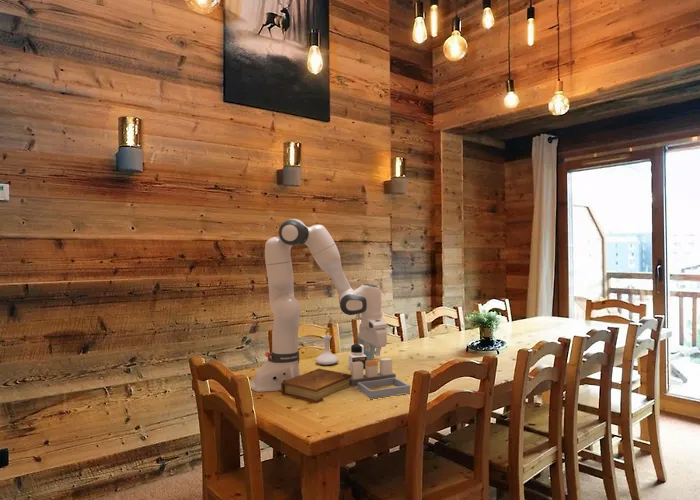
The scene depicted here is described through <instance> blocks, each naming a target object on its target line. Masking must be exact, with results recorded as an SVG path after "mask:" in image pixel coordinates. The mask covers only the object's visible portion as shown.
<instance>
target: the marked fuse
mask: <svg viewBox="0 0 700 500" xmlns="http://www.w3.org/2000/svg"><path fill="white" fill-rule="evenodd" d="M378 366H379V363H378V360H377V359H373V360H366V361H365V369H364V372H365V374H364V375H365V376H366V377H375V376H378V373H379V370H378V369H379V367H378Z"/></svg>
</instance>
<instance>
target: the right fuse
mask: <svg viewBox="0 0 700 500" xmlns="http://www.w3.org/2000/svg"><path fill="white" fill-rule="evenodd" d="M379 373H380V374H381V375H390V374H392V373H393V359H392V358H390V357H385V358H379Z"/></svg>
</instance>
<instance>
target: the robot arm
mask: <svg viewBox="0 0 700 500" xmlns="http://www.w3.org/2000/svg"><path fill="white" fill-rule="evenodd" d="M297 245H305V246H306V247H307V248H308V250H309V251H310V253H311V256H312V257H313V260H315V262H316V264H317V265H318V267H319V268H320V269H321V270H322V271H323V272H325V273H326V274H327V275H328V276H329V278H330V279H331V281H332V283H333V285H334V286H335V289H336V291H337V294H338V303H339V308H340V310H341V312H343V313H344V314H345V315H347V316H354V315H358V314H359V315H360V314H361V315H360V317H361V321H360V323H359V327H358V328H359V329H358V333H359V337H360V339H362V340H364V345H365V350H366V351H370V346H369V343H371V344H373V345H375V346H376V348H375V354H374V356H376V357H380V356H381V351H382V348H384V347H386V346H387V343H388V334H387V333H388V332H387V328H388V323H387V322H386V321H385V319H384V318H383V316H382V315H383V313H382V311H381V309H382V294H381V289H380V288H379V286H377V285H376V284H372V283H363V284H362V285H360V286H359V287H357V288H356V289H354V288H353V287H352V285H351V284H350V282H349V280H348V278H347V276H346V274H345V272H344V269H343V266H342V265H343V264H342V261H341V260H342V258H341V255H340V252H339V248H338V247H337V244H336V243H335V240H334V239H333V237H332V235H331V234H330V232H329V231H328V229H327V228H326V227H325V226H324V225H323V224H313V225H311V226H307V224H306V223H305V222H304V221H303V220H301V219H297V218H290V219H287V220H285V221H283V222H282V223H281V224H280V225H279V228H278V236H274V237H270V238H269V239H267V240H266V241H265V245H264V258H265V259H264V260H265V269H266V275H267V284H268V285H267V286H268V297H269V307H270V310H271V313H272V314H273V324H272V325H273V326H272V332H271V334H272V336H271V338H272V339H271V342H272V343H271V344H272V346H271V347H272V349H271V350H272V351H271V352H269V351H265V353H264V356H265V357H266V358H267V361H266V362H264V363H263V365H261V366H260V367H259V368H258V369H256V371H255V373H254V379H253V380H251V381H250V382H249V383H250V384H251V388H252V389H251V388H250V389H251V390H252V391H254V392H256V393H259V392H260V393H262V392H274V391H275V392H276V391H277V392H278V391H281V383H282V382H283V381H286V380H289V379H292V378H294V377H297V376H300V375H301V374H300V373H301V372H300V367H299V366H300V365H299V363H300V351H299V326H300V317H301V316H300V315H301V305H300V302H299V300H298V299H297V298H295V291H294V290H295V289H294V283H295V282H294V281H295V276H294V270H293V263H292V256H291V249H292V247H293V246H297Z"/></svg>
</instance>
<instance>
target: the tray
mask: <svg viewBox="0 0 700 500" xmlns="http://www.w3.org/2000/svg"><path fill="white" fill-rule="evenodd" d="M391 385H392V386H393V385H394V386H393V387H386V388H379V387H383V386H384V387H385V386H391ZM377 387H378V388H379V389H374V390H373V389H372V390H371V388H377ZM356 389H357V390H358V391H359V392H361V393H363V394H364V395H365V396H367V397H369V399H370V400H369V401H374V400H373V399H377V400H379V399H378V398H384V397H390V396H397V395H403V396H407V395H406V394H409V395H411V385H410V384H408V383H406V382H404V381H402V380H401V379H399V378H397V377H396V378H387V379H380V380H372V381H365V382H357V386H356ZM397 397H398V396H397ZM390 398H391V397H390ZM384 399H385V398H384Z"/></svg>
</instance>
